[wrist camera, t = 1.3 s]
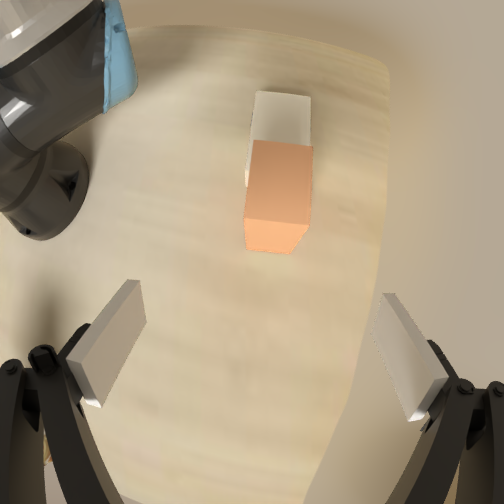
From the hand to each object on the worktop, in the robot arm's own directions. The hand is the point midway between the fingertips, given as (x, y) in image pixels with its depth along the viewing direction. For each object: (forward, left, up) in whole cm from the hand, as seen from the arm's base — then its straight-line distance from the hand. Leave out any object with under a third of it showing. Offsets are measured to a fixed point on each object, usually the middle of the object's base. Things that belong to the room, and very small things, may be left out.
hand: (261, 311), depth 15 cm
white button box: (-14, +15, -18) cm, 27 cm away
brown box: (-7, +8, -18) cm, 21 cm away
